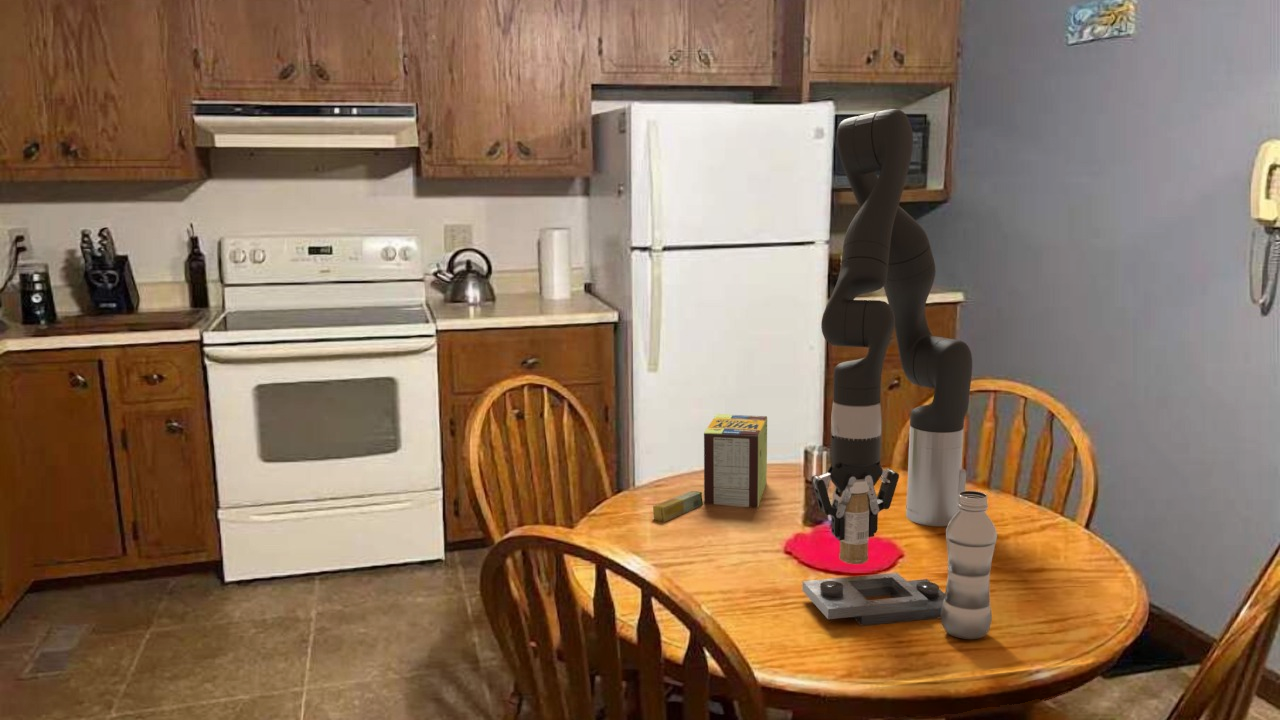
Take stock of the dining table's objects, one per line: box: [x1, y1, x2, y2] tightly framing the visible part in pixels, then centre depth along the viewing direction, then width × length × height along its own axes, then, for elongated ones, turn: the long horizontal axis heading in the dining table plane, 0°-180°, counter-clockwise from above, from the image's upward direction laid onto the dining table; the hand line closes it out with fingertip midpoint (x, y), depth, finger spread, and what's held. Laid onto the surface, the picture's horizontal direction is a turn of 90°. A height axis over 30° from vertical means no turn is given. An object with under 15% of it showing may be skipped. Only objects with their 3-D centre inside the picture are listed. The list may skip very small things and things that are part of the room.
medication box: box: [652, 490, 704, 523], centre depth 184 cm, size 12×3×4 cm, turn 141°
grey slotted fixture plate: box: [801, 572, 928, 620], centre depth 145 cm, size 15×10×3 cm, turn 101°
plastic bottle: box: [940, 490, 998, 640], centre depth 135 cm, size 6×7×20 cm
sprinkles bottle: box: [838, 479, 870, 565], centre depth 154 cm, size 5×5×13 cm
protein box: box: [703, 413, 768, 508], centre depth 193 cm, size 10×15×16 cm
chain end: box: [852, 578, 945, 627], centre depth 146 cm, size 15×10×3 cm, turn 101°
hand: (854, 536), depth 155 cm, fingers closed on sprinkles bottle, 4 cm apart
